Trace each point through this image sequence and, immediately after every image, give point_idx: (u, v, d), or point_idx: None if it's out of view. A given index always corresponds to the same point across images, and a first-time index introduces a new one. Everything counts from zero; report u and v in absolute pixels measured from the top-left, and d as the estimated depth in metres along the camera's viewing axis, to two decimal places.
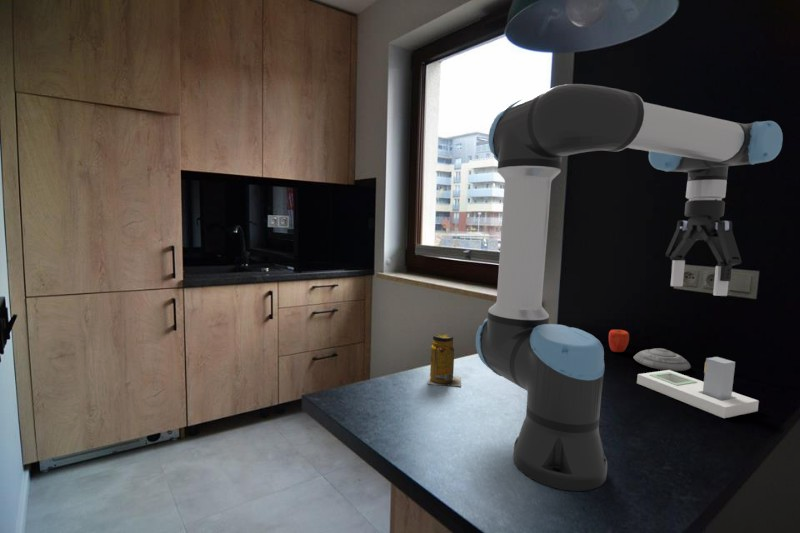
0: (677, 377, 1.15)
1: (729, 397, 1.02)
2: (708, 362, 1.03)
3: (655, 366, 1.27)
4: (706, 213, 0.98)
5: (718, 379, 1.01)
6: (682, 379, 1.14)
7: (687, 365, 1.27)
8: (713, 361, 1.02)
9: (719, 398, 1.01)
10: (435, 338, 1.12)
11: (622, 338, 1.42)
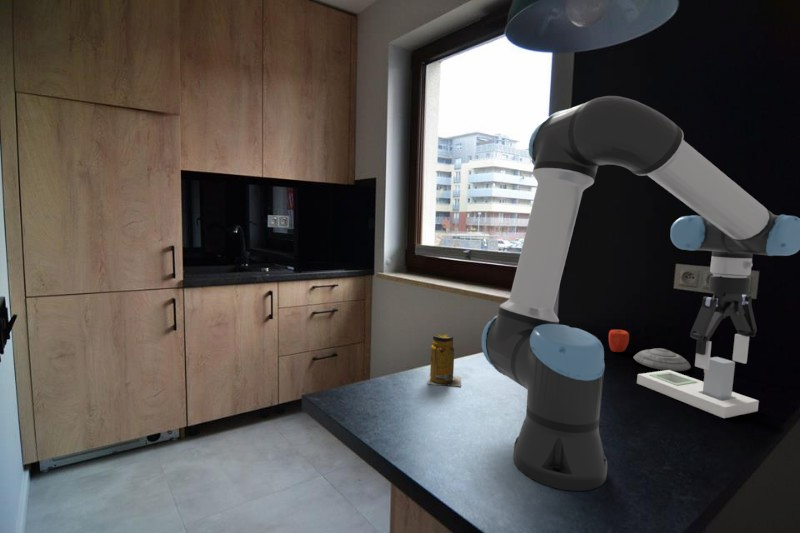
0: (677, 377, 1.15)
1: (729, 397, 1.02)
2: None
3: (655, 366, 1.27)
4: (710, 288, 1.01)
5: (718, 379, 1.01)
6: (682, 379, 1.14)
7: (687, 365, 1.27)
8: (713, 361, 1.02)
9: (719, 398, 1.01)
10: (435, 338, 1.12)
11: (622, 338, 1.42)
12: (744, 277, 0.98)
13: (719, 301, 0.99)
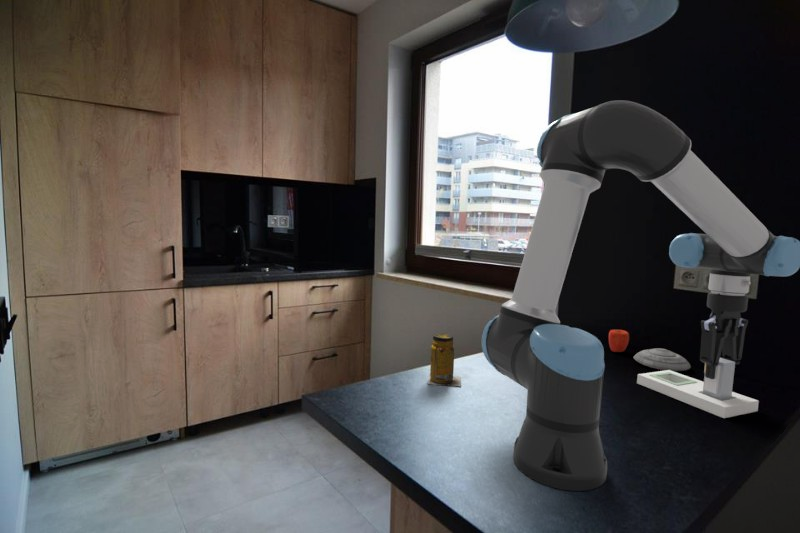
0: (677, 377, 1.15)
1: (729, 397, 1.02)
2: None
3: (655, 366, 1.27)
4: (708, 305, 1.02)
5: None
6: (682, 379, 1.14)
7: (687, 365, 1.27)
8: None
9: (719, 398, 1.01)
10: (435, 338, 1.12)
11: (622, 338, 1.42)
12: (742, 295, 0.98)
13: (717, 319, 0.99)
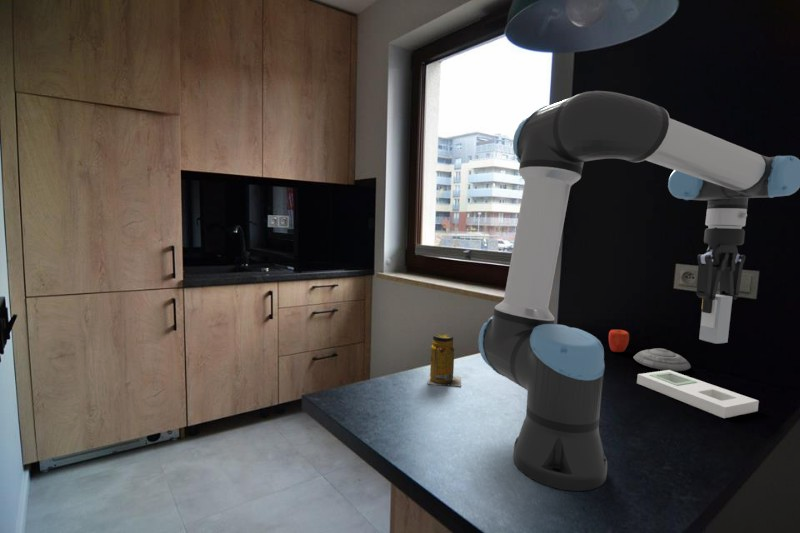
0: (677, 377, 1.15)
1: (726, 332, 1.02)
2: None
3: (655, 366, 1.27)
4: (705, 240, 1.02)
5: None
6: (682, 379, 1.14)
7: (687, 365, 1.27)
8: None
9: (716, 332, 1.01)
10: (435, 338, 1.12)
11: (622, 338, 1.42)
12: (739, 228, 0.98)
13: (714, 252, 1.00)
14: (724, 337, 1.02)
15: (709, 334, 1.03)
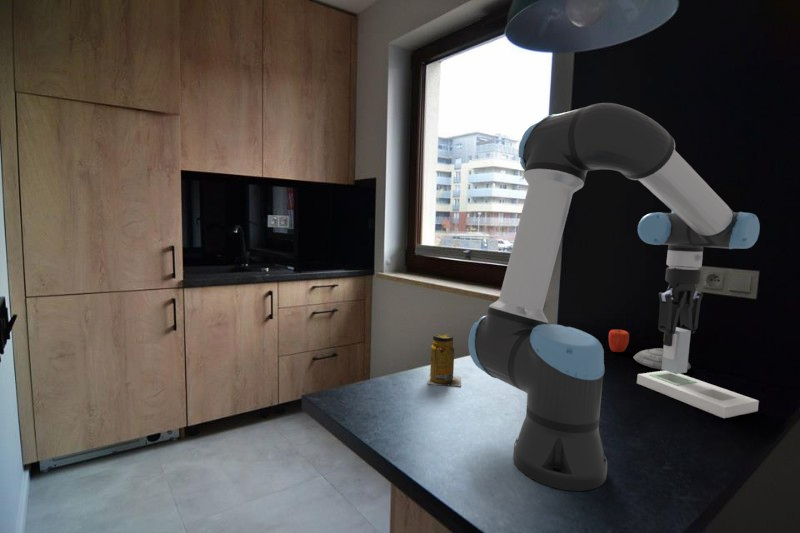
0: (677, 377, 1.15)
1: (685, 363, 1.12)
2: None
3: (655, 366, 1.27)
4: (666, 279, 1.11)
5: None
6: (682, 379, 1.14)
7: (687, 365, 1.27)
8: None
9: (676, 363, 1.11)
10: (435, 338, 1.12)
11: (622, 338, 1.42)
12: (695, 269, 1.08)
13: (673, 291, 1.09)
14: (683, 368, 1.11)
15: (670, 365, 1.12)
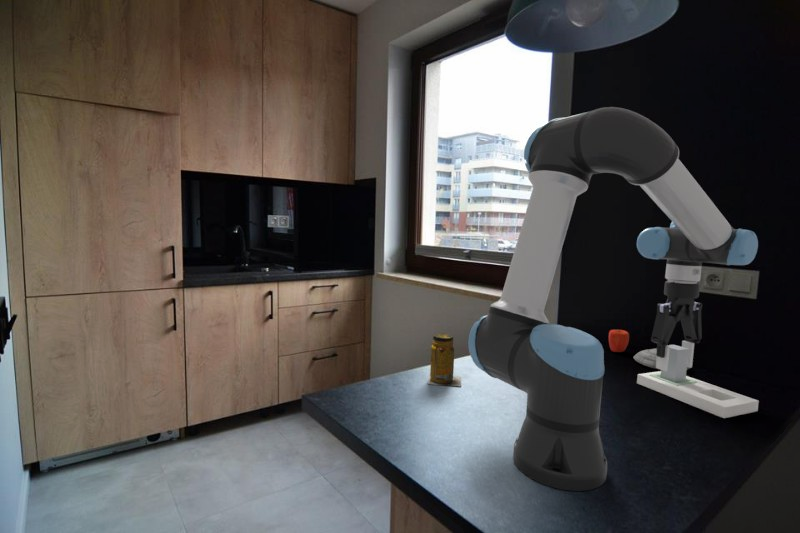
0: None
1: (683, 381, 1.12)
2: None
3: (655, 366, 1.27)
4: (665, 292, 1.12)
5: (673, 364, 1.11)
6: None
7: None
8: None
9: (674, 381, 1.11)
10: (435, 338, 1.12)
11: (622, 338, 1.42)
12: (694, 283, 1.08)
13: (672, 305, 1.09)
14: None
15: None
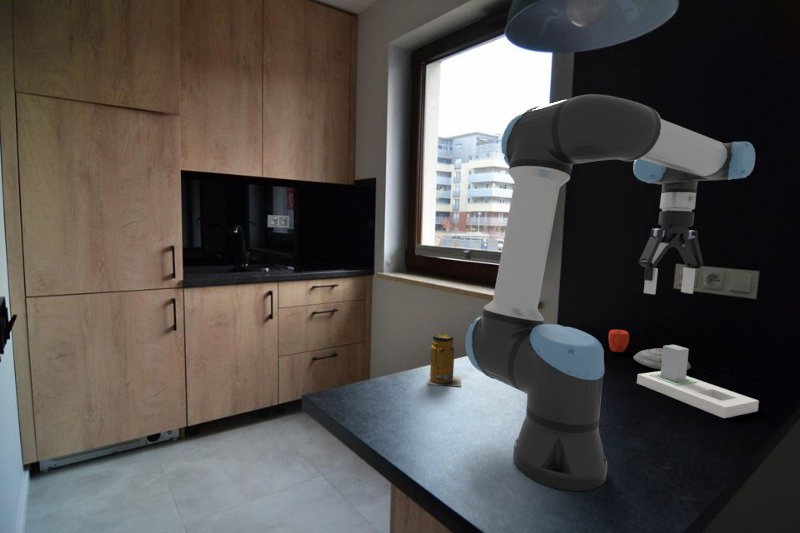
0: None
1: (683, 381, 1.12)
2: (665, 349, 1.13)
3: (655, 366, 1.27)
4: (659, 222, 1.11)
5: (673, 364, 1.11)
6: None
7: (687, 365, 1.27)
8: (669, 348, 1.12)
9: (674, 381, 1.11)
10: (435, 338, 1.12)
11: (622, 338, 1.42)
12: (688, 210, 1.08)
13: (666, 232, 1.09)
14: None
15: None
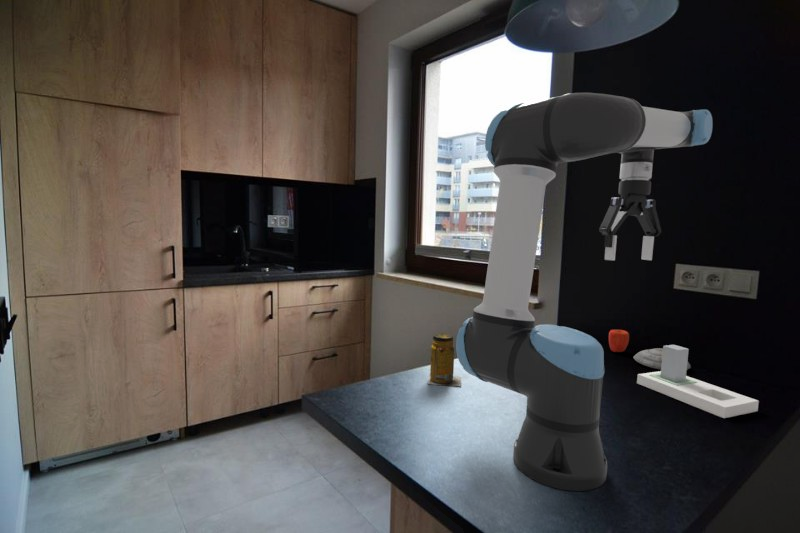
0: None
1: (683, 381, 1.12)
2: (665, 349, 1.13)
3: (655, 366, 1.27)
4: (619, 192, 1.16)
5: (673, 364, 1.11)
6: None
7: (687, 365, 1.27)
8: (669, 348, 1.12)
9: (674, 381, 1.11)
10: (435, 338, 1.12)
11: (622, 338, 1.42)
12: (645, 179, 1.12)
13: (624, 201, 1.14)
14: None
15: None
